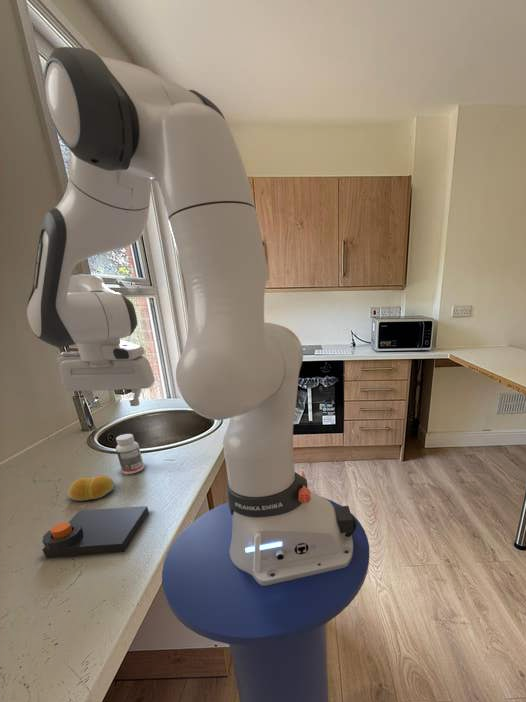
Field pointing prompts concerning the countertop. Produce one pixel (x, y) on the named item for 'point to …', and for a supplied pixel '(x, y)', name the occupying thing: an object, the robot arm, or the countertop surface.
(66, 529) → the button
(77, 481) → the bread roll
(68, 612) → the countertop surface
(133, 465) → the pill bottle
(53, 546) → the scale
